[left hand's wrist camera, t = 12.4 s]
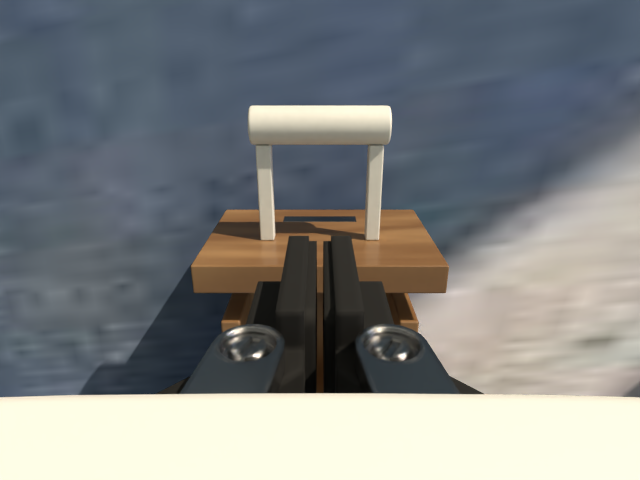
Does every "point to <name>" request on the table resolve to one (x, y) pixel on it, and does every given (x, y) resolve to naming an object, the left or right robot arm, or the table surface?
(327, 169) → the table surface
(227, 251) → the drawer
